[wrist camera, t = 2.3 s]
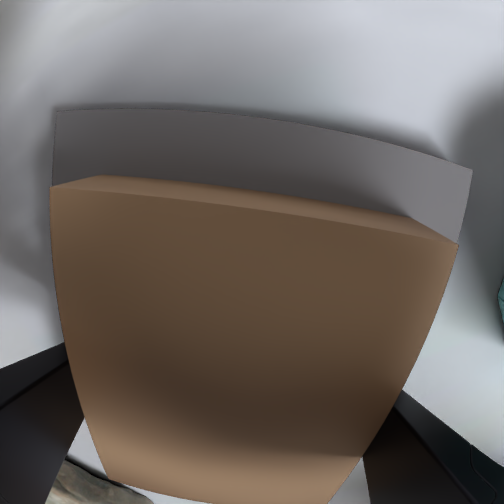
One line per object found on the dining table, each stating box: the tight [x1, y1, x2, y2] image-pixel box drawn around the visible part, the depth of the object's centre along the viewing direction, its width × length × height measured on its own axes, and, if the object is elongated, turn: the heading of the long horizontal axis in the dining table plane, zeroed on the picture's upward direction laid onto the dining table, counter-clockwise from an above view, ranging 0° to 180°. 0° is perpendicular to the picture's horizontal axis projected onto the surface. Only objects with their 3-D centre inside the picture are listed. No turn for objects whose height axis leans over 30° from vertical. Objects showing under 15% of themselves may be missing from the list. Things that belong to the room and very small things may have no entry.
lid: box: [50, 175, 459, 504], centre depth 7 cm, size 9×7×2 cm
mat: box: [52, 108, 473, 244], centre depth 8 cm, size 12×10×1 cm
